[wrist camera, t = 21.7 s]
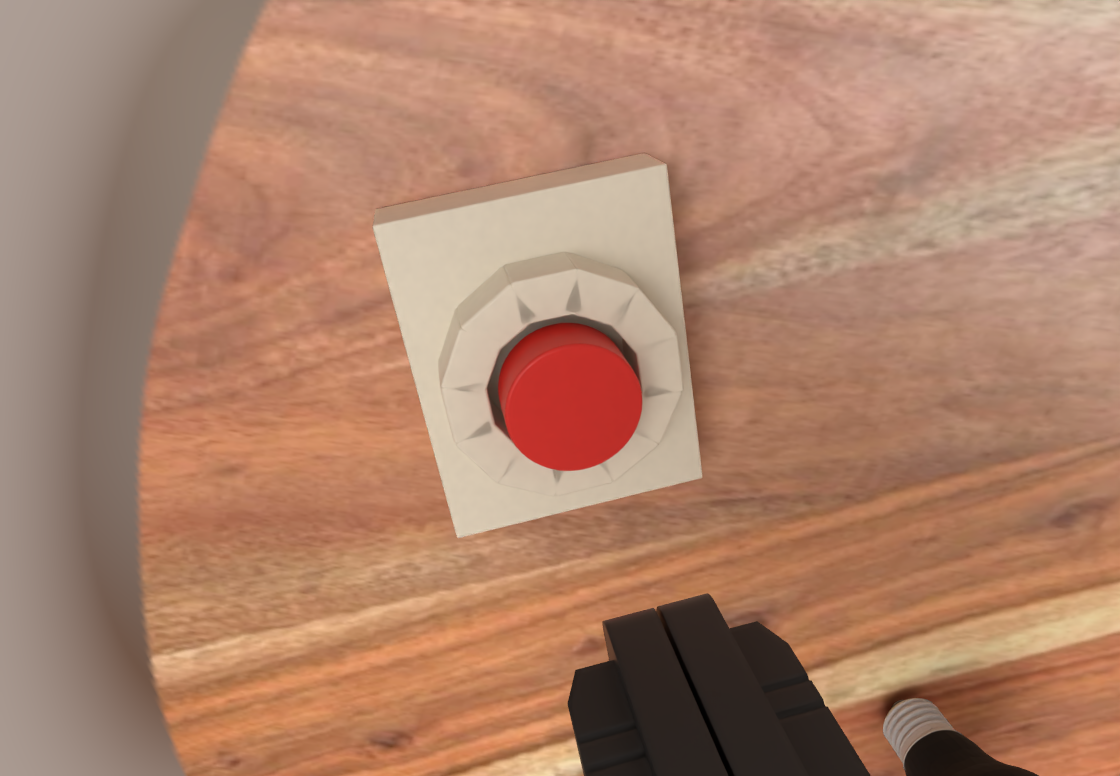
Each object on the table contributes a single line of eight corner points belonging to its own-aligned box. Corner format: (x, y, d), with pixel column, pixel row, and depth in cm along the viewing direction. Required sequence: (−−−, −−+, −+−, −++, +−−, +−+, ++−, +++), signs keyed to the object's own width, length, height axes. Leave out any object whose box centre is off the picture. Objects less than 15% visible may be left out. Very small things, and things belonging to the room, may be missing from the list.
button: (485, 338, 22) (492, 362, 20) (617, 308, 22) (633, 329, 21) (511, 455, 23) (519, 486, 22) (634, 426, 24) (651, 454, 22)
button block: (374, 208, 23) (369, 242, 20) (645, 152, 24) (688, 174, 21) (453, 502, 28) (460, 573, 24) (682, 446, 28) (723, 508, 25)
